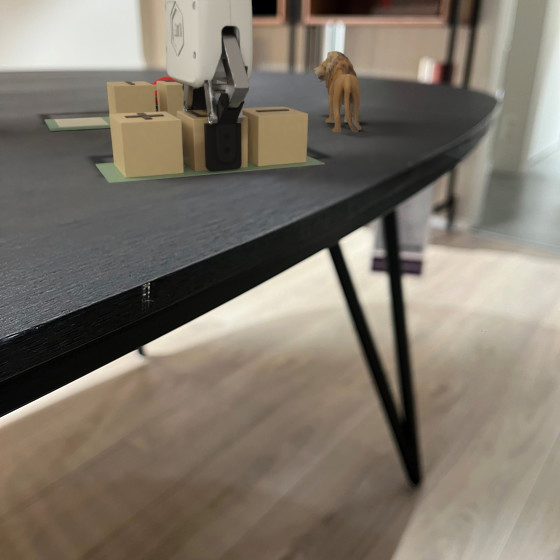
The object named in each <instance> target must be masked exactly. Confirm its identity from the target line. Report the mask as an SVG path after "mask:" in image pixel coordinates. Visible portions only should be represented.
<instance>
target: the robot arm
mask: <svg viewBox="0 0 560 560" xmlns="http://www.w3.org/2000/svg"><path fill="white" fill-rule="evenodd" d="M252 2H253V1H252V0H164V29H165V69H166V73H167V75H168V77H169V76H170V77H171V78H172V79H174V80H176V81H178V82H181V83H184V84H183V86H182V89H183V91H184V98H183V108H184V111H188V110H207V115H208V122H209V123H204V138H205V166H206V168H207V169H208V170H209V171H219V170H230V169H239V168H240V167H241V165H242V142H241V123H242V121H243V111H242V108H244V104H245V99H246V96H247V95H248V93H249V90H250V80H251V78H252V73H253V61H254V60H253V58H254V57H253V56H254V47H253V46H254V39H253V38H254V36H253V35H254V33H253V32H254V31H253V30H254V29H253V5H252ZM219 81H220V82H222V83H217V82H219ZM216 94H220V95H219V97H218V101H217V95H216Z"/></svg>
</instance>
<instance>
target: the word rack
mask: <svg viewBox="0 0 560 560" xmlns="http://www.w3.org/2000/svg"><path fill="white" fill-rule="evenodd" d="M150 83H151V82H147V81H145V80H141V81H128V80H126V81H125V80H124V81H106V91H107V102H108V112H109V114H115V113H139V112H163V111H165V112H167V113H169V114H171V115H173V116H175V117H177V111H184V108H183V98H184V91H183V89H182V86H183V84H184V83H181V82H178V81H176V80H175V81H157V97H158V105H157V106H156V103H155V87H154V85H152V84H150ZM157 110H158V111H157ZM44 123H45V124H46V126H47V128H48V129H49V131H50V132H57V131H58V132H59V131H78V130H79V131H80V130H97V129H98V130H100V129H111V127H110V117H109V116H96V117H95V116H93V117H71V118H68V117H67V118H49V119H46V118H45V119H44Z"/></svg>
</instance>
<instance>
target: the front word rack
mask: <svg viewBox="0 0 560 560" xmlns="http://www.w3.org/2000/svg"><path fill="white" fill-rule="evenodd" d="M242 111H243V115H244V116H247V117H248V167H246V168H239V169H230V170H219V171H199V172H195V171H194V170H192V169H191V168H190V167H188V166H187V165H186V164H184V163H183V146H182V125H181V120H180V119H178V118H177V117H175V116H173V115H171V114H169V113H167V112H165V111H163V112H158V111H156V112H139V113H115V114H110V113H108V114H109V116H108V117H110V127H111V128H110V138H111V147H112V156H113V162H105V163H102V162H101V163H95V167H96V168H97V169H98V171H99V172H100V174H102V176H103V177H104V178H105V180H106V181H107V182H108V183H109V184H119V183H129V182H140V181H141V182H142V181H152V180H162V179H163V180H165V179H175V178H184V177H185V178H186V177H195V176H196V177H197V176H207V175H209V176H210V175H218V174H231V173H242V172H253V171H262V170H275V169H276V170H277V169H285V168H287V169H288V168H296V167H297V168H299V167H308V166H309V167H311V166H319V165H326V163H325V162H323V161H321V160H318V159H316V158H314V157H312V156H309V155H308V154H307V153H308V152H307V151H308V131H309V130H308V128H309V113H307V112H304V111H300V110H297V109H294V108H290V107H287V106H264V107H263V106H262V107H261V106H260V107H242Z"/></svg>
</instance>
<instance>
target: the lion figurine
mask: <svg viewBox="0 0 560 560" xmlns="http://www.w3.org/2000/svg"><path fill="white" fill-rule="evenodd" d="M313 71H314V72H315V73H314V74H315V75H316V77H317V80H318V82H320V83H322V82H325V84H324V85H325V88H326V91H327V93H328V110H329V111H328V113H329V117H328V118H326V119H325V121H324V122H325V123H326V124H334V127H333V128H332V129H331V132H332V133H337V134H339V133H340V134H341V133H342V115H341V108H342V105H343V106H344V117H343V121H344V123H346V124H348V126H349V129H350V131H351V132H353V133H354V134H357V133H359V131H362V129H363V128H362V126H361V125H360V122H359V121H360V119H359V111H360V105H361V86H360V83H359V79H358V75H357V72H356V70H355V68H354V65H353V64H352V62H351V60H350V59H349V57H347V56H346V55H345V53H342V52H341V51H338V50H332V51H328V52H327V56H326V59H325V60H324V61H322V62H321V64H319V65H317V66H316V67H314V69H313Z"/></svg>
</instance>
